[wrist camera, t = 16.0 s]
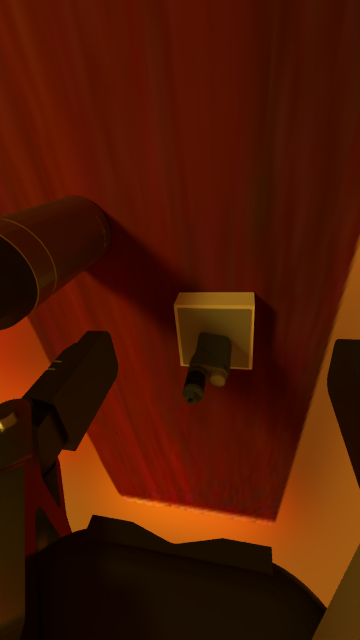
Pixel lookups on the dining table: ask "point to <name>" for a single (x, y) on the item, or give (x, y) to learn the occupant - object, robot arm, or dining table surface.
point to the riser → (216, 323)
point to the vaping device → (207, 365)
